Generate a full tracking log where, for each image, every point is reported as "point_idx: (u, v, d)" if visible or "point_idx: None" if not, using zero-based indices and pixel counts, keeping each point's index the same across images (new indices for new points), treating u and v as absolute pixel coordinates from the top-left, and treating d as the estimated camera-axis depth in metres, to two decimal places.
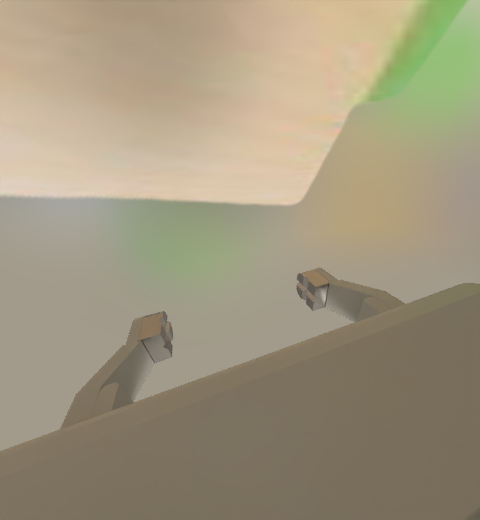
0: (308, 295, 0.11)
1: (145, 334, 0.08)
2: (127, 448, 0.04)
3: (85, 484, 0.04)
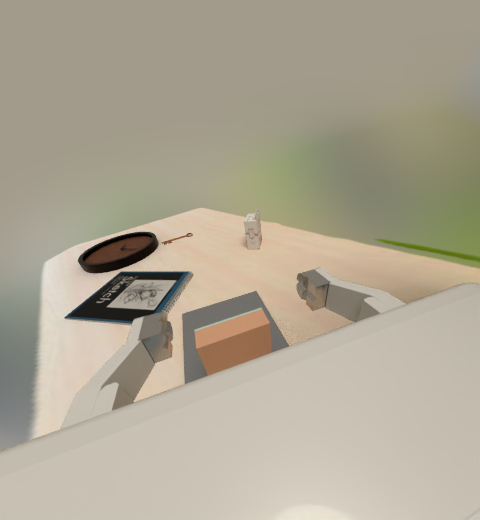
0: (308, 295, 0.11)
1: (145, 334, 0.08)
2: (127, 448, 0.04)
3: (85, 484, 0.04)
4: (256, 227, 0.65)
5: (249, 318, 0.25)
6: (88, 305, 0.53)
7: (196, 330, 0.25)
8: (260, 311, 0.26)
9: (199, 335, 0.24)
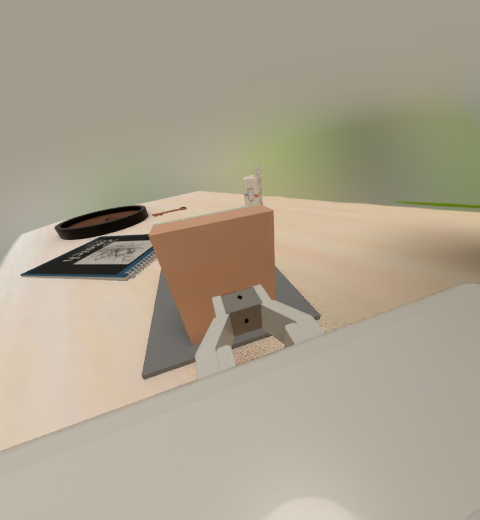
0: None
1: (230, 308, 0.09)
2: (127, 448, 0.04)
3: (85, 484, 0.04)
4: (256, 186, 0.56)
5: (241, 211, 0.16)
6: (52, 263, 0.44)
7: (156, 224, 0.16)
8: (258, 205, 0.17)
9: (159, 227, 0.15)
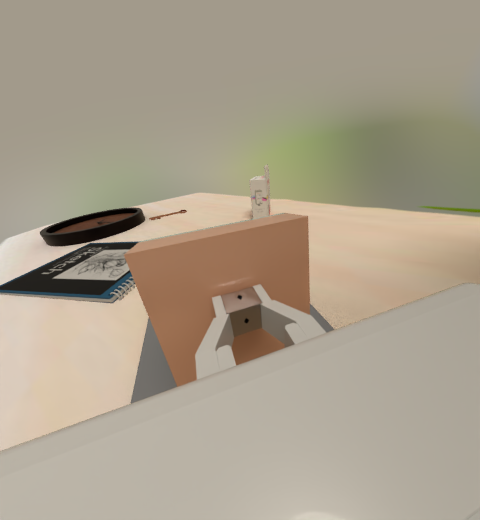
0: None
1: (230, 308, 0.09)
2: (127, 448, 0.04)
3: (85, 484, 0.04)
4: (265, 188, 0.50)
5: (260, 220, 0.12)
6: (29, 277, 0.37)
7: (143, 241, 0.11)
8: (282, 214, 0.13)
9: (145, 243, 0.10)
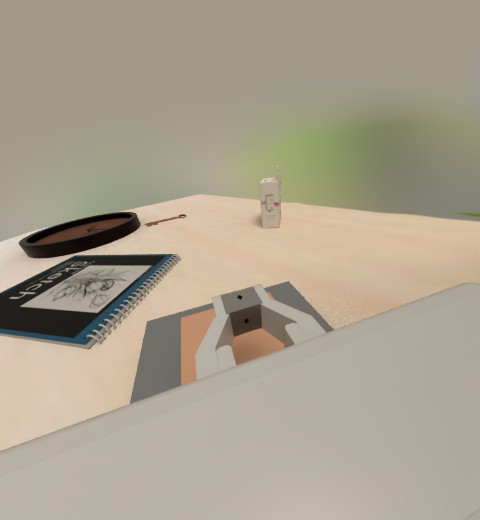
0: None
1: (230, 308, 0.09)
2: (127, 448, 0.04)
3: (85, 484, 0.04)
4: (277, 192, 0.43)
5: None
6: None
7: None
8: None
9: None
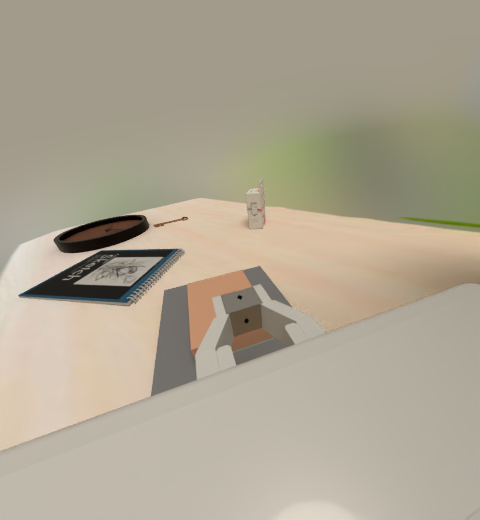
0: None
1: (230, 308, 0.09)
2: (127, 448, 0.04)
3: (85, 484, 0.04)
4: (260, 201, 0.56)
5: None
6: (52, 282, 0.43)
7: None
8: None
9: None
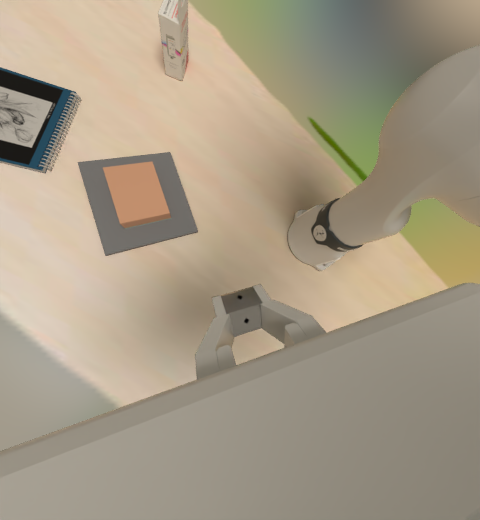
0: None
1: (230, 308, 0.09)
2: (127, 448, 0.04)
3: (85, 484, 0.04)
4: (179, 38, 0.43)
5: None
6: None
7: None
8: None
9: None
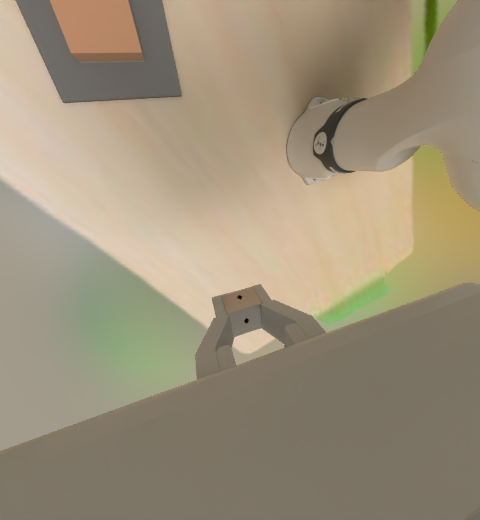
0: None
1: (230, 308, 0.09)
2: (127, 448, 0.04)
3: (85, 484, 0.04)
4: None
5: None
6: None
7: None
8: None
9: None
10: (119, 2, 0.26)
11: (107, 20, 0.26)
